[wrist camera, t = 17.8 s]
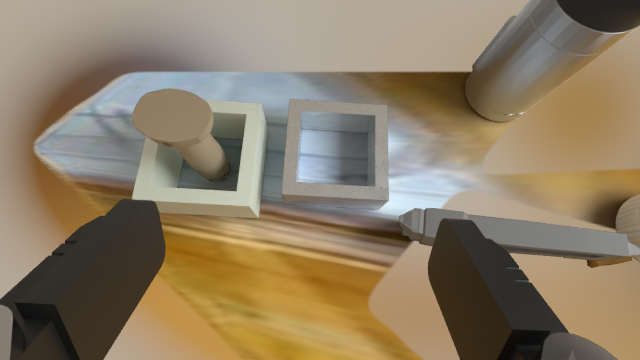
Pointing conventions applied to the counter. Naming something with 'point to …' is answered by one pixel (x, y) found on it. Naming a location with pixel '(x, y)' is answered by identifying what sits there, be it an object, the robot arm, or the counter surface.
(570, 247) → the tapered grey rod
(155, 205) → the robot arm
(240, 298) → the counter surface
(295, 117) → the bore block
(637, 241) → the ramekin
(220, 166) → the handle
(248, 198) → the cradle block
